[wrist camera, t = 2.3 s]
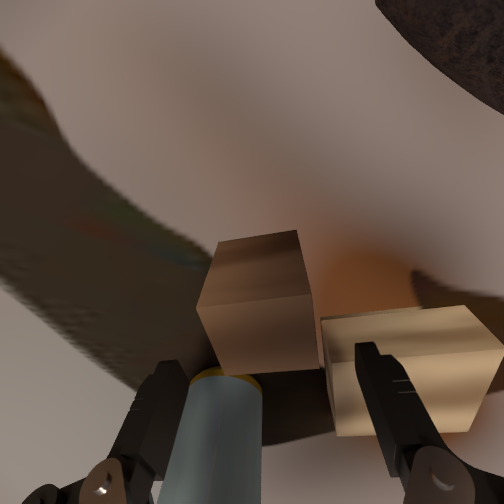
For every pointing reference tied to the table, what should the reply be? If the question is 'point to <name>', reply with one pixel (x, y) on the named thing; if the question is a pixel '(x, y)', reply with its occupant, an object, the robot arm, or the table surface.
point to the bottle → (217, 443)
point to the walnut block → (259, 306)
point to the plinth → (413, 362)
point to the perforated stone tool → (457, 40)
